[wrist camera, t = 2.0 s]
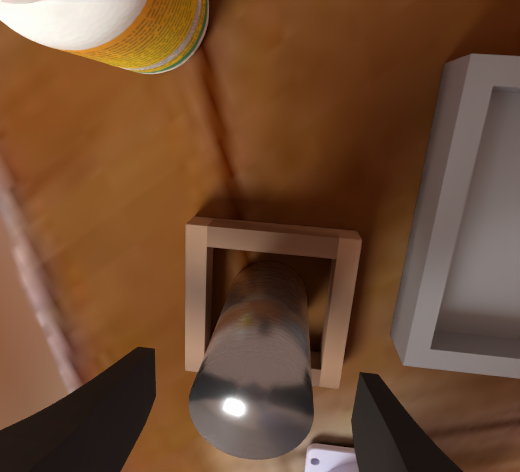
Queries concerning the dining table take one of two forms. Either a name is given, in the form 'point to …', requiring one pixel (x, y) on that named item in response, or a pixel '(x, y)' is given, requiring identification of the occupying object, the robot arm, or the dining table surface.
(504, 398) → the dining table surface
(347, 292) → the socket block
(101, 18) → the supplement bottle
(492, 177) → the tray
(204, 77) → the dining table surface
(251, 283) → the pin
